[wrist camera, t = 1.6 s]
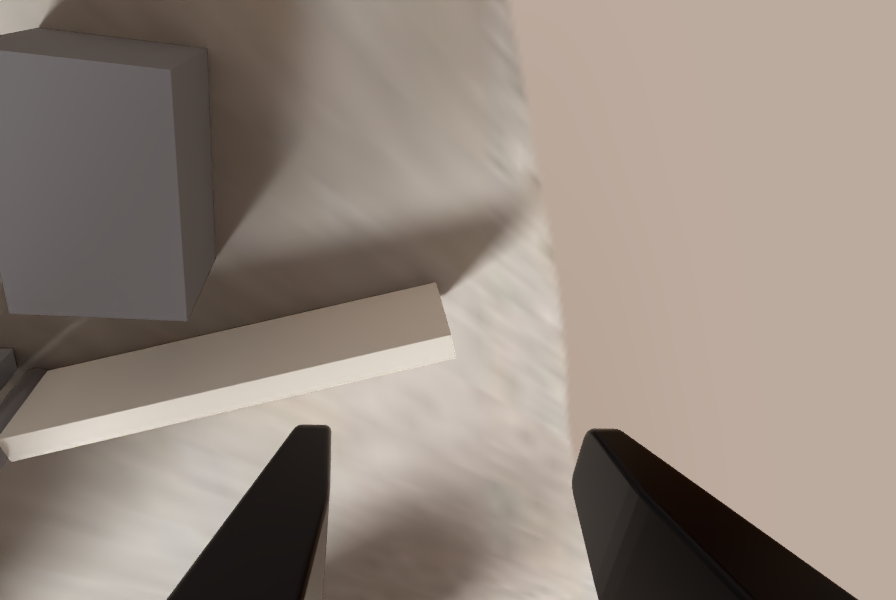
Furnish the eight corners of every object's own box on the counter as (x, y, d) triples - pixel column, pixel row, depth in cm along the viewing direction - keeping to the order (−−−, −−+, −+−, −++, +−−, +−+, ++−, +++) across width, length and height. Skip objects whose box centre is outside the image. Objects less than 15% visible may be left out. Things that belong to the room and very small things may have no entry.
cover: (32, 396, 20) (-30, 481, 17) (16, 372, 20) (-51, 454, 16) (440, 302, 21) (458, 366, 17) (434, 277, 20) (452, 337, 17)
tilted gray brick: (216, 256, 19) (186, 321, 15) (73, 247, 18) (8, 313, 15) (208, 47, 16) (170, 69, 13) (40, 27, 16) (-49, 45, 12)
